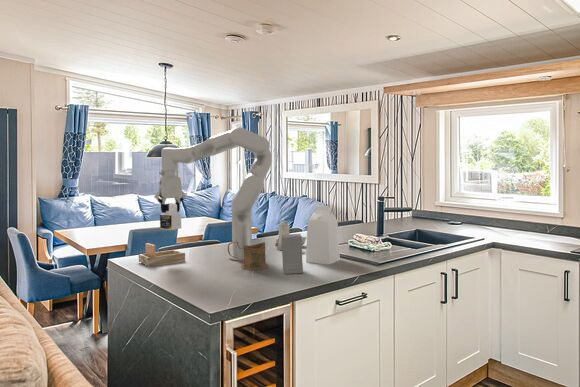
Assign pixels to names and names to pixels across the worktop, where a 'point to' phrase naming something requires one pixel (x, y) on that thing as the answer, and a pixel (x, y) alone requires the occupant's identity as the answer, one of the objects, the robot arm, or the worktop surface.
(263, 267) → the mug
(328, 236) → the milk
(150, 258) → the wooden tray
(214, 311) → the worktop surface
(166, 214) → the medicine bottle
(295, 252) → the skincare box
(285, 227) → the chinaware
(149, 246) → the pusher plate
